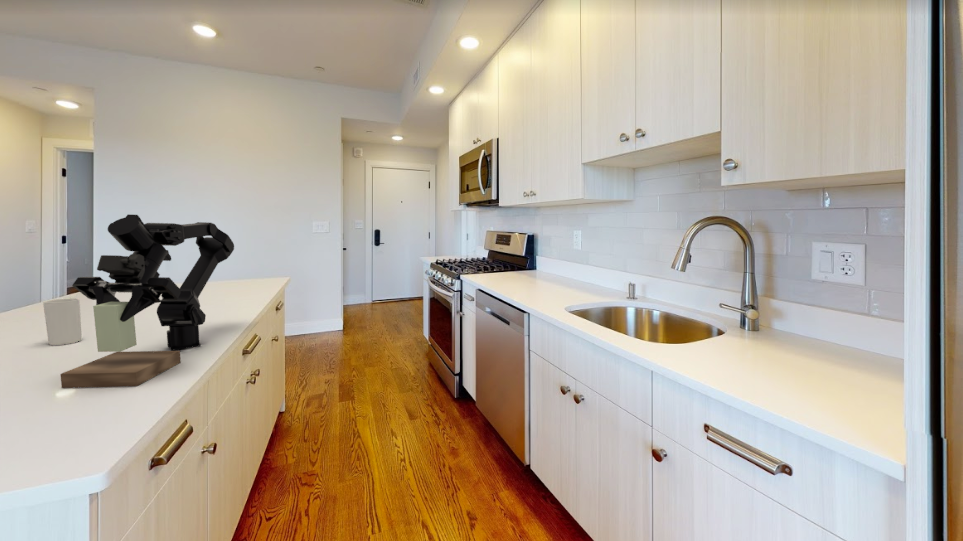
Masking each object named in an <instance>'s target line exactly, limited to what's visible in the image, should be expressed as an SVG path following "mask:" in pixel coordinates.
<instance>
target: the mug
mask: <svg viewBox="0 0 963 541" xmlns="http://www.w3.org/2000/svg"><path fill="white" fill-rule="evenodd" d="M42 303H43V304H42V305H43V311H44V319H45V327H46V333H47V334H46V335H47V341H48V345H50V346H64V344H66V345H71V344H70V343H72V344H76V343H79V342H81V341H82V339H83V338H82V321H81V317H82V316H81V304H80V298H77V297H70V298H68V297H65V298H53V299H48V300H44V301H42ZM78 341H79V342H78ZM75 342H76V343H75Z"/></svg>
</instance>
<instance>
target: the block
mask: <svg viewBox="0 0 963 541" xmlns="http://www.w3.org/2000/svg"><path fill="white" fill-rule="evenodd" d="M128 302H129V301H120V302H107V303H103V304H99V305H96V304H95V305H93V306H92V307H93V317H94V326H95V336H96V337H95V339H96V346H97V348H96V349H97V352H98V353H105V352H107V353H108V352H110V353H111V352H112V353H115V352H124V351H125V350H128V349H131V348H132V347H135V346H137V334H136V326H135V325H136V324H135V315H134V316H133V317H131V318H130V319H128V320H127V321H125V322H122V321H121V320H120V317H121V315H122V313H123V311H124V309H125V307H126V306H127V304H128Z"/></svg>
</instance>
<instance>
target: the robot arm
mask: <svg viewBox="0 0 963 541" xmlns="http://www.w3.org/2000/svg"><path fill="white" fill-rule="evenodd" d="M107 232H108V233H109V234H110V236H112V237H113V238H114V240H116V242H117V243H119V245H121V246H122V248H123V249H125V250H126V251H128V252H132V253H131V254H129V255H128V256H127V255H110V254H109V255H108V254H107V255H105V254H103V255H100V258H99V259H98V260H99V261H98V264H97V267H96V270H97V271H99V272H101V271H102V272H105V273H107V274H108V278H109V279H111V280H114V282H109V281H106V280H105V279H103V278H102V277H101V276H80V277H77V278H76V279H75V281H74V282H73V284H72V285H71V286H72V287H73V288H74V289H76V290H77V291H78V292H79V293H80V294H82V295H83V296H85V297H86V298H87V299H89V300H93V301H94V300H95V301H96V302H95V306H96V305H99V304H103V303H107V302H121V301H120V299H118V298H117V297H116V293H121V294H122V293H124V294H125V293H127V294H128V293H131V297H130V298H129V301H127V302H128V304H127V306H126V307H125V309H124V311H123V313H122V315H121V317H120V320H121V321H122V322H125V321H127V320H128V319H130V318H131V317H133V316H134V317H135V316H136V315H137V314H139V313H140V312H142V311H143V310H146V309H147V308H149V307H150V306H153V305H155V304H156V303H157V304H158V303H159V305H158V306H157V309H156V315H157V319H158V320H159V323H160V325H161V327H168V330H166V340H167V342H166V344H167V348H170V351H179V350H183V349H190V348H196V347H201V345H202V344H201V342H200V332H199V331H200V327H199V326H200V325H204V324H205V322H206V316H207V314H205V312H204V311H203V310H202V309H201V304H200V300H199V297H200V295H201V294H202V292H203V290H204V289H205V287H206V285H207V284H208V282H209V279H210V278H211V276H212V274H213V273H214V271H215V269H216V268H217V266H218V265H219V264H221V263H222V262H224V261H226V260H227V259H228V258H229V257H230V256H231V255H232V254H233V252H234V250H235V244H234V241H233V240H232V238H231V237H230V236H229V235H228V233H226V232H224V231H222V230H221V229H220V228H218V227H217V225H216V224H215V223H213V222H207V221H206V222H201V221H200V222H194V223H186V224H185V223H184V224H180V223H172V222H171V223H168V222H167V223H164V222H146V223H144V222H143V220H142V219H141V217H140V216H139V215H138V214H127V215H126V216H125V217H122V218H119V219H117V220H115V221H113V222H110V223H109V225H108V226H107ZM208 236H209V237H208ZM194 238H196V240H195V244H196V245H197V248H198V250H199V253H200V256H199V257H198V259H197V261H196V262H195V264H194V265H193V266H192V269H191V270H190V272H189V273H188V274H187V276H186V277H185V279H184V281H183V283H182V284H181V286H180V287H179V286H178V285H177V284H176V283H175V282H174V281H173V279H171V277H170V276H169V277H163V276H162V277H161V276H160V275H161V274H160V273H159V272H158V270H160V267H161V265H162V263H163V261H165V262H168V261H169V262H170V261H172V255H171V254H170V252H169V250H168V249H166V247H165V246H172V247H173V246H174V247H175V246H179V245H181V244H184V242H185V240H188V239H189V240H190V239H194ZM160 297H161V299H160Z"/></svg>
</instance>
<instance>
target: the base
mask: <svg viewBox="0 0 963 541" xmlns="http://www.w3.org/2000/svg"><path fill="white" fill-rule="evenodd" d="M181 362H182V360H181V351H180V350H157V351H155V350H154V351H153V350H152V351H151V350H150V351H147V350H143V351H137V350H136V351H135V350H134V351H133V350H132V351H121V352H112V353H110V354H108V355H104V356H101V357H100V358H98V359H95V360H92V361H89V362H87V363H85V364H82V365H79V366H77V367H74V368H71V369H69V370H67V371H64V372H62V373H59V374H60V382H61V383H60V384H61V388H62V389H71V388H73V387H75V388H78V387H79V388H80V387H81V388H112V387H115V388H117V387H120V388H121V387H138V386H140V385H142V384H143V383H146V382H148V381H150V380H151V379H153V378H155V377H157V376H158V375H160V374H162V373H164V372H166V371H168V370H170V369H171V368H173V367H176V366H178V364H181ZM81 388H80V389H81ZM73 389H74V388H73Z"/></svg>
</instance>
